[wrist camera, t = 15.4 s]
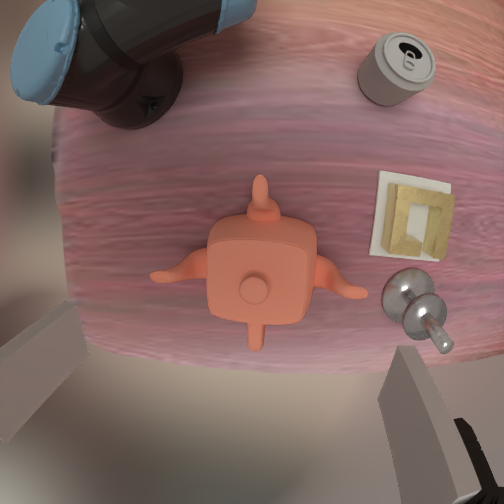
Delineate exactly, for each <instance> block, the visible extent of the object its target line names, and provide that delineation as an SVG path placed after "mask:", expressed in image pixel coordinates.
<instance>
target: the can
mask: <svg viewBox="0 0 504 504" xmlns="http://www.w3.org/2000/svg"><path fill="white" fill-rule="evenodd" d="M435 69H436V65H435V59H434V56H433V53H432V52H431V50H430V49H429V47H428V46H427V45H426V44H425V43H424V42H423V41H422V40H421V39H419V38H417V37H416V36H414V35H411V34H408V33H402V32H398V33H389V34H386V35H384V36H382V37H381V38H380V39H379V40H378V41H377V43H376V44H375V46H374V47H373V49H372V50H371V52H370V53H369V54H368V56H367V57H366V59H365V60H364V62H363V63H362V65H361V67H360V69H359V71H358V81H359V85H360V87H361V89H362V91H363V92H364V94H365V95H366V96H367V97H368V98H369V99H370V100H372V101H374V102H375V103H377V104H380V105H384V106H394V105H396V104H398V103H400V102H402V101H404V100H406V99H407V98H409V97H411V96H413V95H415V94H417V93H418V92H420V91H422V90H424V89H426V88H427V87H428V86H429V85H430V84H431V83H432V82H433V79H434V76H435Z"/></svg>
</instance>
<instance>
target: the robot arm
mask: <svg viewBox="0 0 504 504" xmlns="http://www.w3.org/2000/svg"><path fill="white" fill-rule="evenodd" d="M256 5H257V0H47V1H46V2H44V3H43V4H42V5H41V6H40V7H39V8H38V9H37V10H36V11H35V12H34V13H33V15H32V16H31V17H30V19H29V20H28V21H27V23H26V25H25V26H24V28H23V30H22V32H21V34H20V36H19V38H18V40H17V43H16V46H15V48H14V52H13V55H12V60H11V68H10V77H11V84H12V87H13V90H14V92H15V93H16V94H17V96H18V97H20V98H21V99H23V100H26V101H32V102H36V103H38V104H39V105H55V106H63V107H70V108H77V109H83V110H89V111H93V112H94V113H95V114H96V115H97V116H99V117H100V118H101V119H102V120H103V121H104V122H106V123H107V124H109V125H111V126H113V127H117V128H123V129H138V128H142V127H145V126H147V125H149V124H151V123H153V122H155V121H156V120H158V119H159V118H160V117H161V116H162V115H164V114H165V113H166V112H167V110H168V109H169V108H170V107H171V105H172V104H173V102H174V101H175V99H176V97H177V95H178V93H179V90H180V87H181V83H182V65H181V62H180V59H179V57H178V55H177V54H176V53H175V51H174V50H175V49H177V48H179V47H182V46H184V45H186V44H188V43H191V42H193V41H196V40H198V39H201V38H203V37H206V36H208V35H211V34H214V35H215V34H218V33H220V32H221V30H223V29H226V28H228V27H231V26H233V25H236V24H239V23H242V22H244V21H246V20H248V19H249V18H250V17H251V16H252V15H253V13H254V12H255V9H256ZM88 355H89V353H88V349H87V345H86V342H85V338H84V334H83V330H82V325H81V321H80V317H79V312H78V307H77V304H74V303H71V302H66V301H65V302H63V303H62V304H60V305H59V306H57V307H56V308H54V309H53V310H52V311H50V312H49V313H47V314H46V315H44V316H43V317H42V318H40V319H39V320H37V321H36V322H35V323H34V324H32V325H31V326H29V327H28V328H26V329H25V330H24V331H22V332H21V333H20V334H18V335H17V336H16V337H14V338H13V339H12V340H10V341H9V342H8V343H6V344H5V345H4V346H2V347H1V348H0V440H2V441H3V442H4V443H5V444H7V443H8V441H9V440H10V439H11V438H12V437H13V436H14V435H15V433H16V432H17V431H18V430H19V429H20V428H21V427H22V426H23V425H24V423H25V422H26V421H27V420H28V419H29V418H30V417H31V416H32V415H33V413H34V412H35V411H36V410H37V409H38V408H39V407H40V406H41V405H42V404H43V403H44V401H45V400H46V399H47V398H48V397H49V396H50V395H51V394H52V393H53V392H54V391H55V389H57V388H58V387H59V385H60V384H61V383H62V382H63V381H64V380H65V379H66V378H67V377H68V376H69V375H70V374H71V373H72V372H73V371H74V369H76V368H77V367H78V366H79V365H80V364H81V363H82V362H83V361H84V360H85V359H86V357H87V356H88ZM378 402H379V406H380V409H381V413H382V417H383V421H384V424H385V429H386V433H387V437H388V441H389V445H390V449H391V454H392V458H393V463H394V467H395V472H396V477H397V482H398V487H399V492H400V498H401V503H402V504H504V487H498V485H497V483H496V482H495V479H494V477H493V474H492V471H491V469H490V467H489V464H488V462H487V460H486V457H485V455H484V453H483V451H481V446H480V444H479V442H478V441H477V437H476V435H475V433H474V431H473V429H472V427H471V426H470V425H469V424H468V423H467V422H466V421H465V420H464V419H463V418H457V419H453V418H452V416H451V414H450V412H449V410H448V408H447V406H446V404H445V401H444V399H443V397H442V396H441V393H440V391H439V390H438V387H437V386H436V384H435V382H434V380H433V378H432V376H431V374H430V372H429V370H428V368H427V367H426V365H425V363H424V361H423V359H422V357H421V356H420V354H419V352H418V350H417V349H416V347H415V346H397V349H396V352H395V355H394V358H393V361H392V363H391V366H390V369H389V371H388V374H387V377H386V379H385V382H384V384H383V387H382V389H381V391H380V394H379V396H378Z"/></svg>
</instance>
